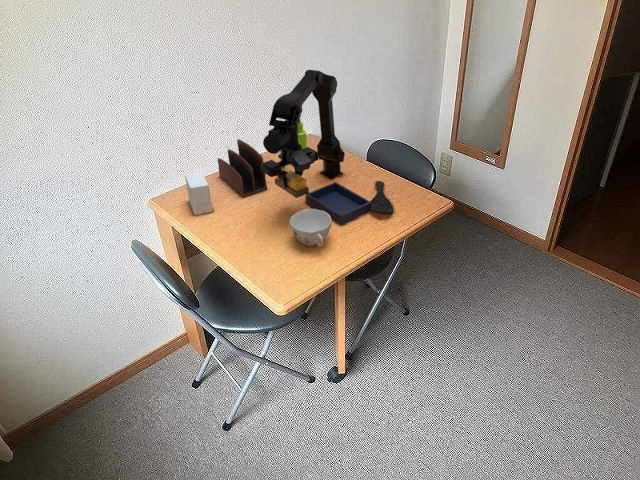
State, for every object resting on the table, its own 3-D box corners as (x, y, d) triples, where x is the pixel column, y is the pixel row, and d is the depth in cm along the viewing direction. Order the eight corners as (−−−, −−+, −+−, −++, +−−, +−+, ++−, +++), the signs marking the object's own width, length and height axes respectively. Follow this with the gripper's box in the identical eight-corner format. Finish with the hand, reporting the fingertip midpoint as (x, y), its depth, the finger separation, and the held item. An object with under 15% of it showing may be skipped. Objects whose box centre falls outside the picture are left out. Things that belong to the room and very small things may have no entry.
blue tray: (305, 202, 169) (305, 194, 167) (335, 190, 176) (335, 181, 174) (341, 225, 158) (341, 216, 156) (371, 211, 165) (371, 202, 163)
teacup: (285, 234, 154) (284, 213, 149) (321, 226, 157) (321, 204, 153) (302, 261, 142) (301, 239, 138) (341, 251, 146) (341, 229, 141)
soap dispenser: (290, 167, 192) (288, 118, 181) (294, 159, 198) (292, 111, 186) (305, 167, 191) (303, 119, 180) (308, 160, 197) (307, 112, 185)
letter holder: (242, 169, 191) (238, 135, 183) (267, 189, 177) (264, 154, 169) (219, 176, 186) (214, 142, 178) (242, 197, 173) (238, 161, 165)
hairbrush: (391, 177, 179) (395, 210, 158) (389, 186, 181) (394, 220, 160) (368, 175, 179) (370, 208, 158) (367, 184, 181) (368, 217, 160)
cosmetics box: (213, 211, 165) (209, 184, 159) (194, 215, 163) (189, 188, 157) (207, 197, 173) (202, 171, 167) (188, 201, 171) (183, 174, 165)
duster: (274, 184, 161) (273, 170, 158) (287, 179, 163) (286, 165, 160) (296, 198, 153) (295, 184, 150) (309, 193, 156) (308, 179, 153)
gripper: (279, 158, 139) (282, 204, 148) (329, 140, 148) (329, 185, 157) (257, 145, 146) (262, 190, 155) (307, 129, 155) (308, 173, 164)
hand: (291, 185), depth 158 cm, fingers closed on duster, 5 cm apart
